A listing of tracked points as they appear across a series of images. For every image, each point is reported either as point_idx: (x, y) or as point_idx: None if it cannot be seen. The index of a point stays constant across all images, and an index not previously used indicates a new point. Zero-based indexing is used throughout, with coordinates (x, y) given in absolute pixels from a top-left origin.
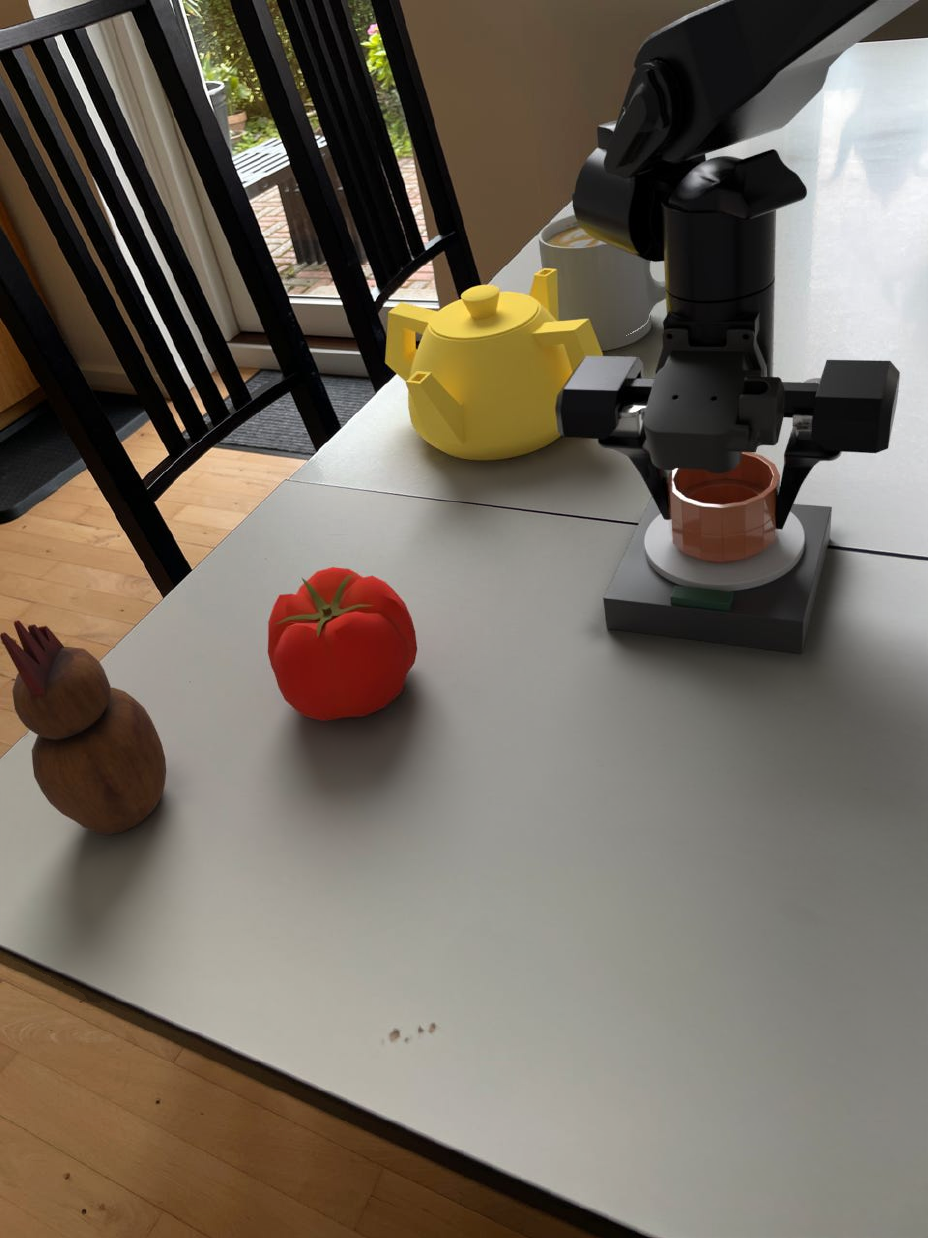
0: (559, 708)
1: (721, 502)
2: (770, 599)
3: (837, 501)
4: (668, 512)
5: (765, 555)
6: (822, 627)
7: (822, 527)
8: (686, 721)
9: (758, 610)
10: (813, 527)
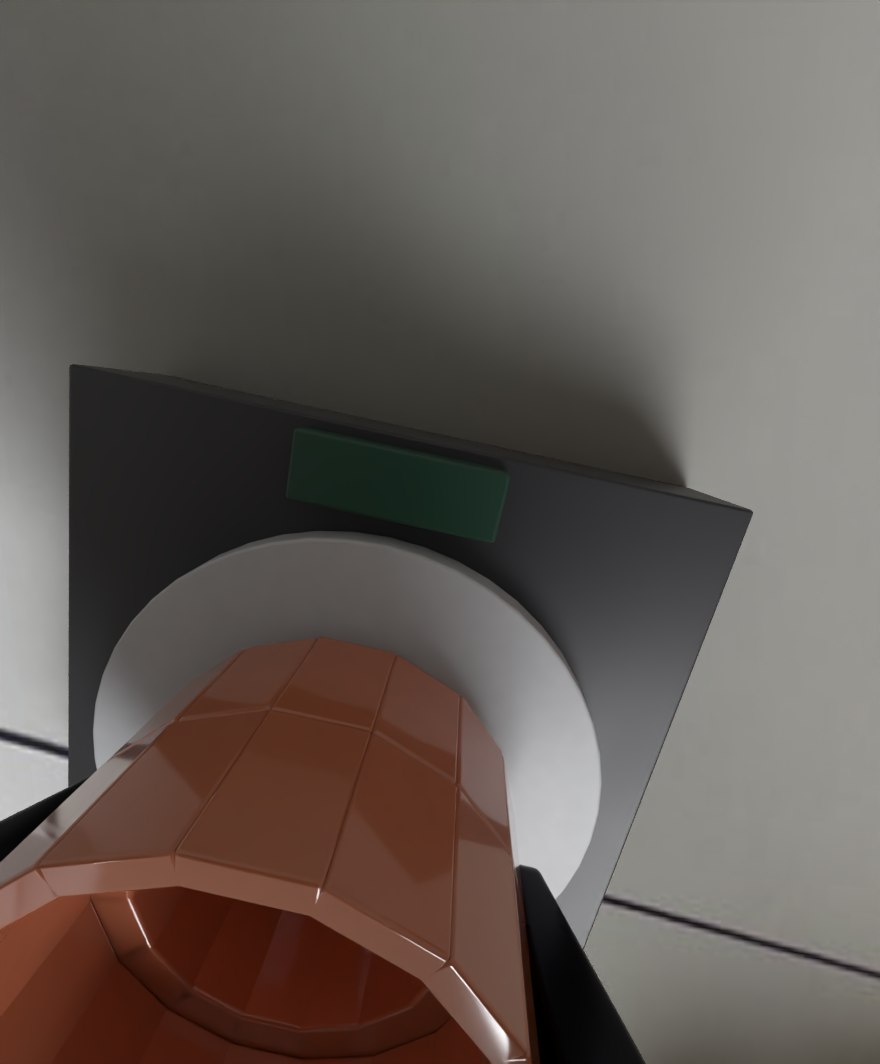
0: (862, 93)
1: (334, 934)
2: (183, 486)
3: None
4: (523, 898)
5: None
6: None
7: None
8: (454, 53)
9: (213, 427)
10: None
